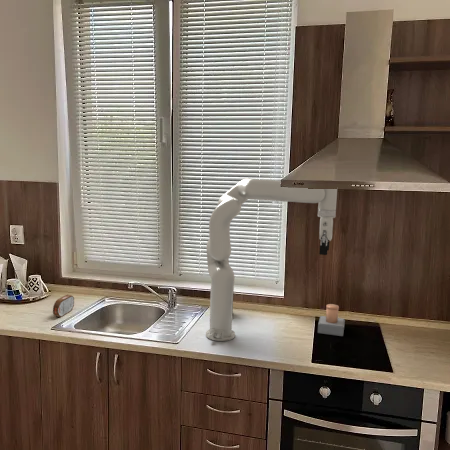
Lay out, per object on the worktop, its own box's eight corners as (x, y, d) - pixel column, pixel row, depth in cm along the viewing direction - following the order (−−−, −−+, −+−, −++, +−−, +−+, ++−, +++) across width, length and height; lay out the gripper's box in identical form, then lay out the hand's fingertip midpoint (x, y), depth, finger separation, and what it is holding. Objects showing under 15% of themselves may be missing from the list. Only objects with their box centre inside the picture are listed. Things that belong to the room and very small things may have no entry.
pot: (337, 324, 200) (338, 308, 199) (324, 322, 202) (325, 307, 201) (338, 319, 206) (339, 304, 205) (325, 318, 207) (326, 303, 206)
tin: (69, 308, 223) (69, 292, 221) (75, 309, 222) (75, 292, 221) (52, 319, 208) (51, 301, 207) (58, 319, 207) (58, 302, 206)
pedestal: (343, 336, 198) (343, 326, 197) (317, 332, 201) (318, 323, 200) (344, 327, 208) (344, 318, 208) (319, 324, 211) (320, 315, 211)
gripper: (334, 216, 185) (331, 257, 187) (336, 211, 201) (334, 249, 204) (315, 215, 187) (313, 255, 190) (319, 210, 203) (317, 247, 206)
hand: (324, 252), depth 197 cm, fingers open, 9 cm apart
